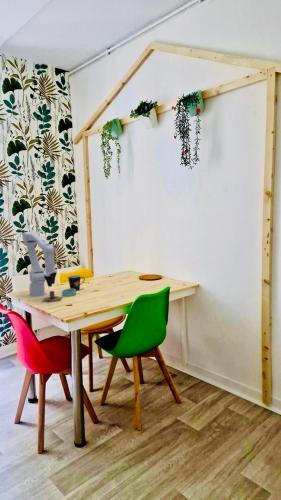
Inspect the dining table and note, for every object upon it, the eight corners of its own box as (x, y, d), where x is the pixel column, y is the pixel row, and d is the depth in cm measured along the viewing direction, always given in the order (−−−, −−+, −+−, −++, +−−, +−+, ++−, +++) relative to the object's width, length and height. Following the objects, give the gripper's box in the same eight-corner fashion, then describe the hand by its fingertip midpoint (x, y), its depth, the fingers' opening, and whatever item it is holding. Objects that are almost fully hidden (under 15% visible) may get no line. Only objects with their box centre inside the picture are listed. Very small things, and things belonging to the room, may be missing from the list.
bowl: (61, 297, 221) (60, 292, 220) (63, 294, 230) (63, 289, 229) (74, 296, 221) (74, 291, 221) (77, 293, 230) (76, 288, 230)
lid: (42, 302, 210) (41, 294, 210) (46, 297, 220) (45, 290, 220) (58, 301, 210) (58, 293, 210) (61, 297, 220) (61, 289, 220)
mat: (41, 302, 210) (41, 302, 210) (45, 298, 220) (45, 297, 220) (60, 301, 211) (60, 301, 211) (63, 297, 220) (63, 297, 220)
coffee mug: (68, 292, 235) (67, 278, 234) (69, 289, 244) (68, 275, 242) (85, 290, 237) (84, 276, 236) (85, 287, 246) (84, 274, 245)
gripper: (53, 265, 205) (55, 287, 207) (58, 262, 220) (60, 282, 221) (42, 266, 205) (43, 288, 207) (47, 262, 220) (49, 282, 221)
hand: (51, 285), depth 214 cm, fingers open, 7 cm apart
